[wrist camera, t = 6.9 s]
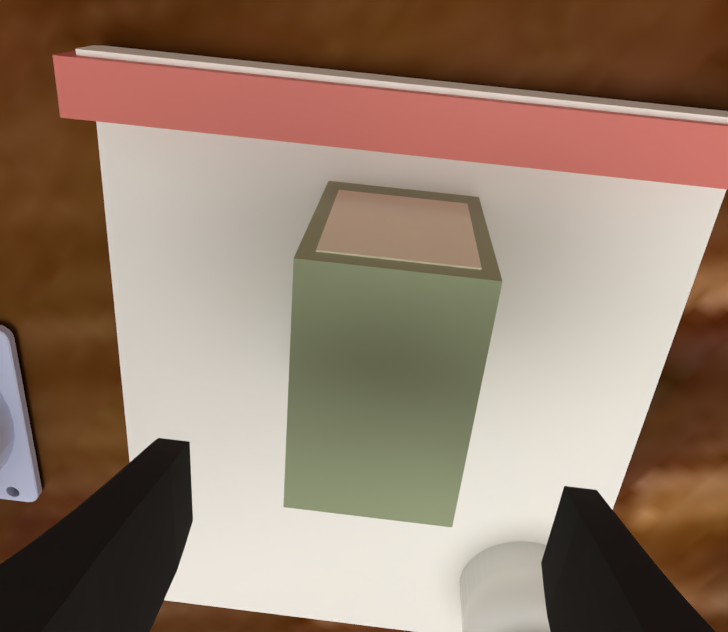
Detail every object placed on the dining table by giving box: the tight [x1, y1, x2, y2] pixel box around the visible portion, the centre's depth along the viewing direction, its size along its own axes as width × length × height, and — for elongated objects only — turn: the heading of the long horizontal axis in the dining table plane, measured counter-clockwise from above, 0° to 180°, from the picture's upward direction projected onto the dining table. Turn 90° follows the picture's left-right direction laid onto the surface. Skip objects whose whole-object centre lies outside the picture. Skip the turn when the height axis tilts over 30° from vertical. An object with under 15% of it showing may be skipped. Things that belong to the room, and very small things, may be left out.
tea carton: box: [283, 181, 503, 527], centre depth 18 cm, size 7×4×6 cm, turn 175°
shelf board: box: [53, 45, 728, 632], centre depth 22 cm, size 18×22×3 cm
